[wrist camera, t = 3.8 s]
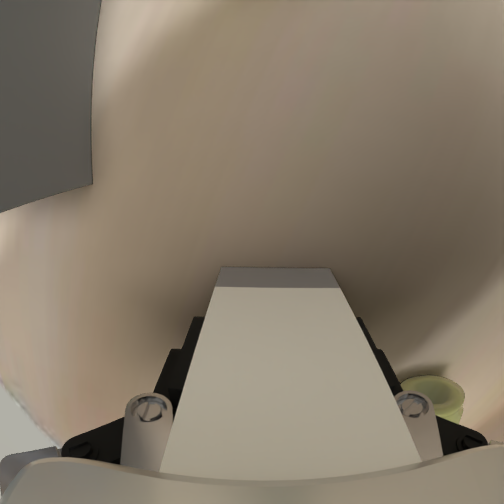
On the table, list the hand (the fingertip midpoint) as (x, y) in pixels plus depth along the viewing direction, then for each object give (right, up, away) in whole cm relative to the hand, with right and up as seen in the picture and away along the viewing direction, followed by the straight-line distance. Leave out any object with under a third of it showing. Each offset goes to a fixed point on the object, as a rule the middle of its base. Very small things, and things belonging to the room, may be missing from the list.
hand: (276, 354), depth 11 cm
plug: (0, +1, +3) cm, 3 cm away
